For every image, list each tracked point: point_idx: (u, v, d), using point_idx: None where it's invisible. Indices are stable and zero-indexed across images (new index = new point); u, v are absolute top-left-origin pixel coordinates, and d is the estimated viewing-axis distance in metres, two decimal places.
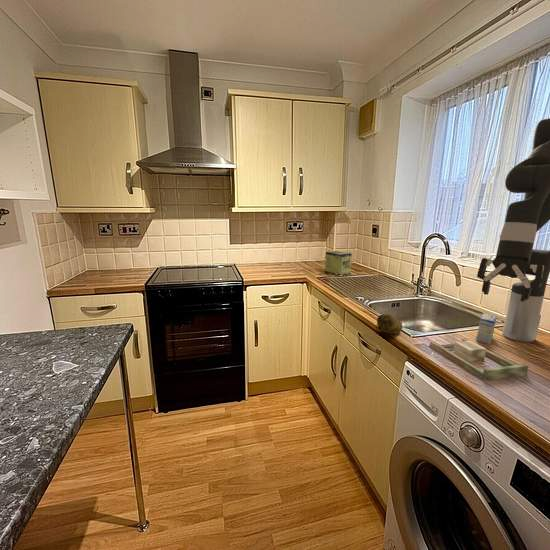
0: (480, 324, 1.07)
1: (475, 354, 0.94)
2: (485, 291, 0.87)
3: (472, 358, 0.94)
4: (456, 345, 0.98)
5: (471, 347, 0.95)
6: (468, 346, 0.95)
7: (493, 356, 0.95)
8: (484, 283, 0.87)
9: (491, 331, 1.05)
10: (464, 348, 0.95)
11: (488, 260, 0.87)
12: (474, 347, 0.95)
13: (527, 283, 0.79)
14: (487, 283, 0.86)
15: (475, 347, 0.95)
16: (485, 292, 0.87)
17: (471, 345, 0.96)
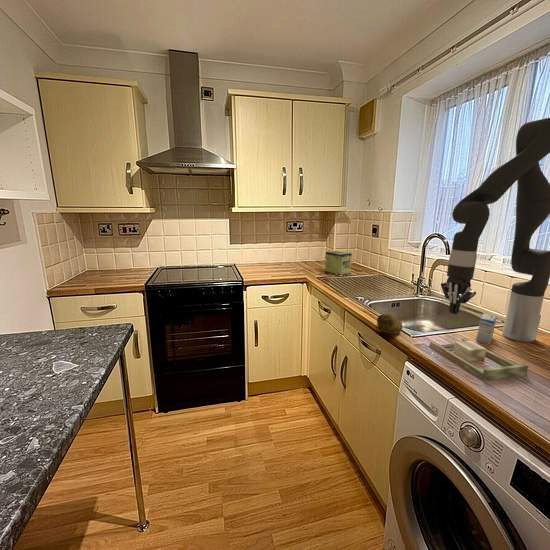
0: (480, 324, 1.07)
1: (475, 354, 0.94)
2: (450, 310, 1.02)
3: (472, 358, 0.94)
4: (456, 345, 0.98)
5: (470, 347, 0.95)
6: (468, 346, 0.95)
7: (493, 356, 0.95)
8: (450, 303, 1.03)
9: (491, 331, 1.05)
10: (463, 348, 0.95)
11: (445, 283, 1.05)
12: (474, 347, 0.95)
13: (455, 300, 1.00)
14: (451, 304, 1.02)
15: (475, 347, 0.95)
16: (450, 311, 1.02)
17: (471, 345, 0.96)
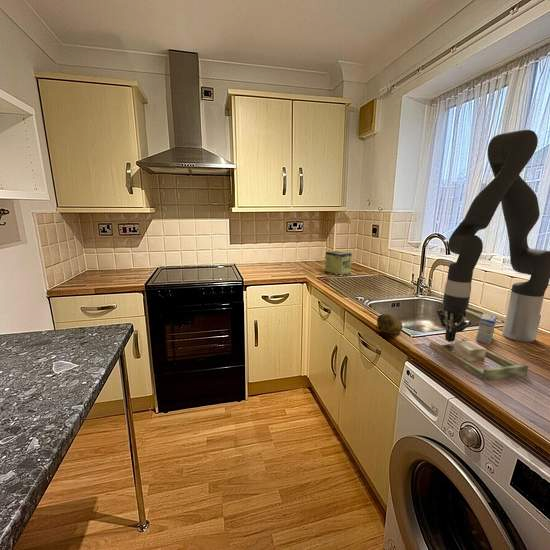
0: (480, 324, 1.07)
1: (475, 354, 0.94)
2: (446, 338, 1.05)
3: (471, 358, 0.94)
4: (456, 344, 0.98)
5: (470, 347, 0.95)
6: (468, 346, 0.95)
7: (493, 356, 0.95)
8: (446, 331, 1.05)
9: (491, 331, 1.05)
10: (463, 347, 0.95)
11: (441, 310, 1.07)
12: (474, 347, 0.95)
13: (451, 329, 1.02)
14: (447, 331, 1.04)
15: (475, 347, 0.95)
16: (446, 338, 1.05)
17: (471, 345, 0.96)
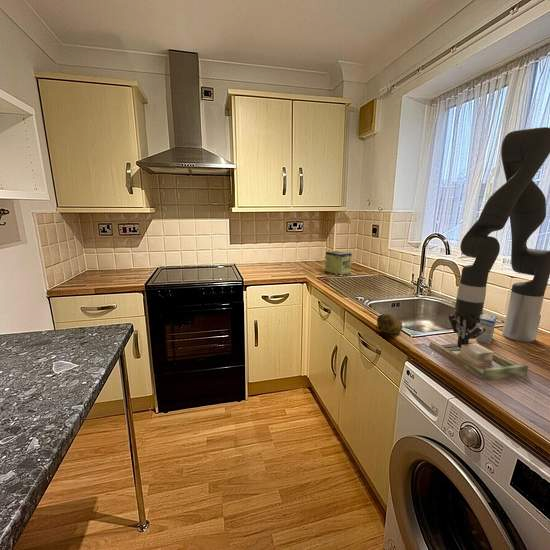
0: (480, 324, 1.07)
1: (483, 358, 0.92)
2: (458, 345, 0.99)
3: (479, 362, 0.92)
4: (463, 348, 0.96)
5: (478, 350, 0.93)
6: (475, 349, 0.93)
7: (493, 356, 0.95)
8: (458, 337, 0.99)
9: (491, 331, 1.05)
10: (471, 351, 0.93)
11: (453, 315, 1.02)
12: (481, 350, 0.93)
13: (463, 335, 0.97)
14: (459, 338, 0.99)
15: (482, 350, 0.93)
16: (458, 345, 0.99)
17: (478, 348, 0.94)
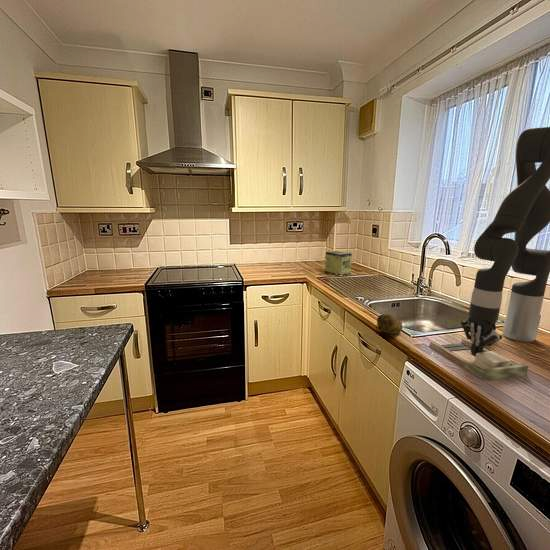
0: None
1: None
2: (472, 352, 0.94)
3: None
4: (478, 356, 0.91)
5: (494, 359, 0.88)
6: (492, 358, 0.88)
7: None
8: (472, 345, 0.94)
9: None
10: (487, 360, 0.88)
11: (466, 321, 0.97)
12: (498, 359, 0.88)
13: (478, 342, 0.92)
14: (473, 345, 0.93)
15: (499, 359, 0.88)
16: (472, 353, 0.94)
17: (494, 356, 0.89)
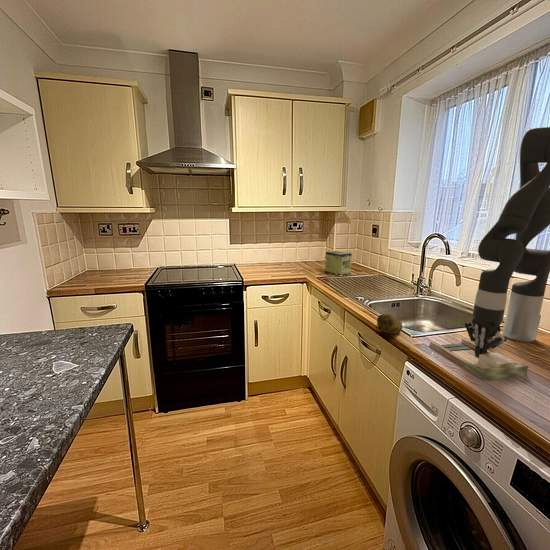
0: None
1: None
2: (476, 354, 0.93)
3: None
4: (481, 358, 0.89)
5: (498, 360, 0.86)
6: (495, 359, 0.87)
7: None
8: (476, 347, 0.93)
9: None
10: (490, 361, 0.86)
11: (470, 323, 0.95)
12: (502, 360, 0.86)
13: (482, 344, 0.91)
14: (477, 347, 0.92)
15: (503, 361, 0.86)
16: (476, 355, 0.93)
17: (498, 358, 0.88)
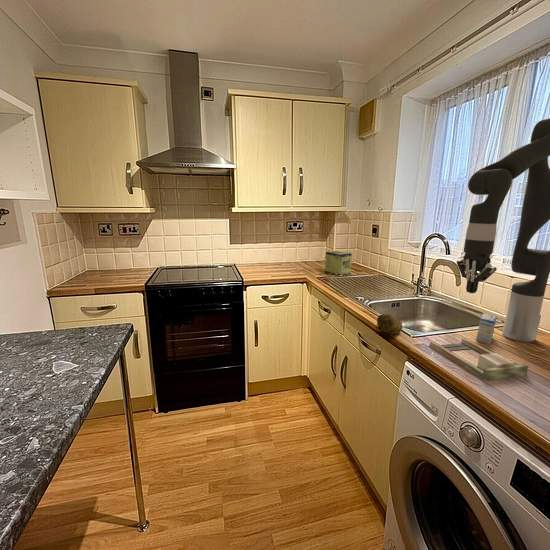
0: (480, 324, 1.07)
1: None
2: (467, 289, 0.95)
3: None
4: (481, 358, 0.89)
5: (498, 361, 0.86)
6: (495, 360, 0.87)
7: None
8: (467, 282, 0.96)
9: (491, 331, 1.05)
10: (490, 362, 0.86)
11: (461, 260, 0.98)
12: (501, 361, 0.86)
13: (473, 278, 0.93)
14: (468, 282, 0.95)
15: (503, 361, 0.86)
16: (467, 290, 0.95)
17: (498, 358, 0.88)
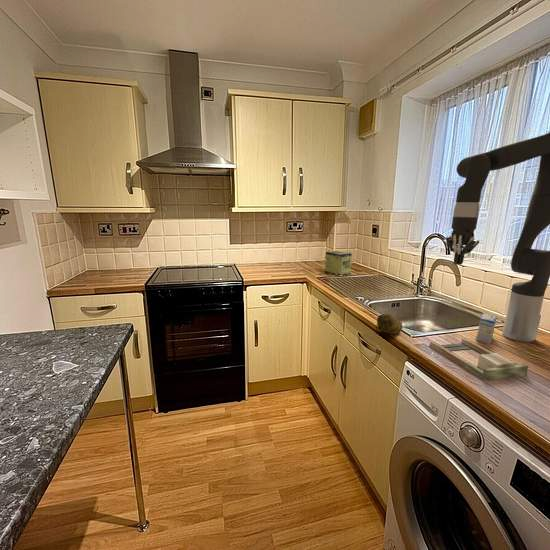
0: (480, 324, 1.07)
1: None
2: (454, 261, 1.09)
3: None
4: (481, 358, 0.89)
5: (498, 360, 0.86)
6: (495, 360, 0.87)
7: None
8: (455, 255, 1.09)
9: (491, 331, 1.05)
10: (490, 362, 0.86)
11: (450, 237, 1.11)
12: (501, 361, 0.86)
13: (459, 251, 1.06)
14: (456, 255, 1.08)
15: (503, 361, 0.86)
16: (454, 262, 1.09)
17: (498, 358, 0.88)
